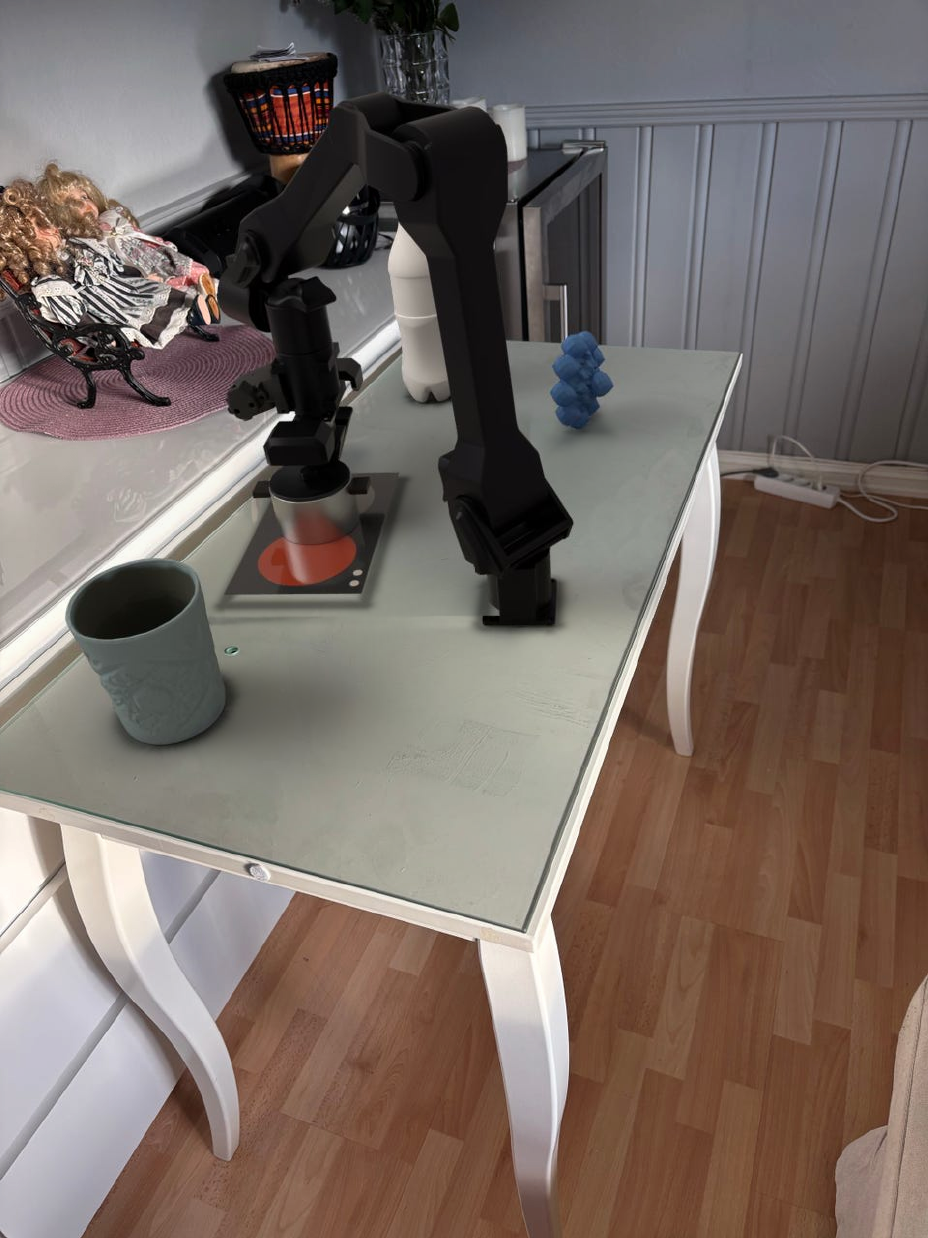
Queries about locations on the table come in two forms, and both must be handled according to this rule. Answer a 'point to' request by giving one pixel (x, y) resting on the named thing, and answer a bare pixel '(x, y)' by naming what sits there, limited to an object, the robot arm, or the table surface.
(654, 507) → the table surface
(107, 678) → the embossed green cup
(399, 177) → the robot arm
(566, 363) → the grapes
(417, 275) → the water bottle
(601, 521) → the table surface
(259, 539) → the hob
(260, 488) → the pot
